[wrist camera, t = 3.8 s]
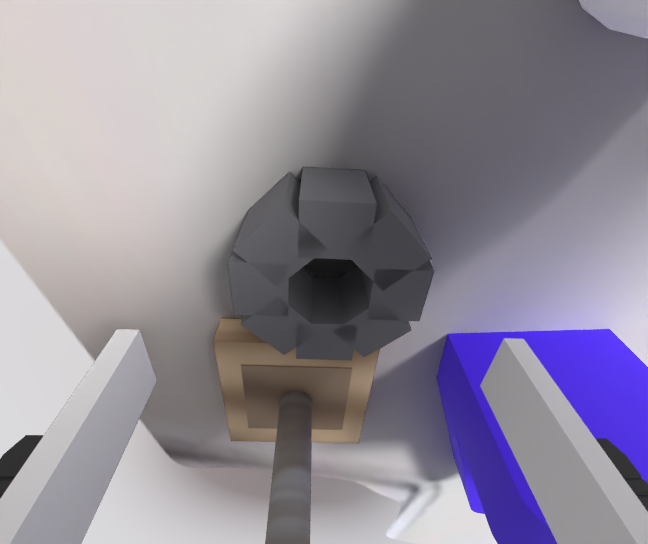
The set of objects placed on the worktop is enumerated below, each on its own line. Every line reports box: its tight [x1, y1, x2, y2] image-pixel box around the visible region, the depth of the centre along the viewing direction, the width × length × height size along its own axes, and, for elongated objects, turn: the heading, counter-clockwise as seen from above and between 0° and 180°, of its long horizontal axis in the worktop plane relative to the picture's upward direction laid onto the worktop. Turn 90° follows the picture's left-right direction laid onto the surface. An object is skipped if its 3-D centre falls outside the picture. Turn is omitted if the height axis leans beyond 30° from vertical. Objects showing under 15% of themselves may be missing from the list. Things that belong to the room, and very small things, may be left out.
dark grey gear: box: [228, 167, 434, 361], centre depth 17 cm, size 9×9×4 cm
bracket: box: [437, 329, 648, 544], centre depth 23 cm, size 18×11×12 cm, turn 1°
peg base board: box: [213, 318, 380, 544], centre depth 20 cm, size 11×10×12 cm
